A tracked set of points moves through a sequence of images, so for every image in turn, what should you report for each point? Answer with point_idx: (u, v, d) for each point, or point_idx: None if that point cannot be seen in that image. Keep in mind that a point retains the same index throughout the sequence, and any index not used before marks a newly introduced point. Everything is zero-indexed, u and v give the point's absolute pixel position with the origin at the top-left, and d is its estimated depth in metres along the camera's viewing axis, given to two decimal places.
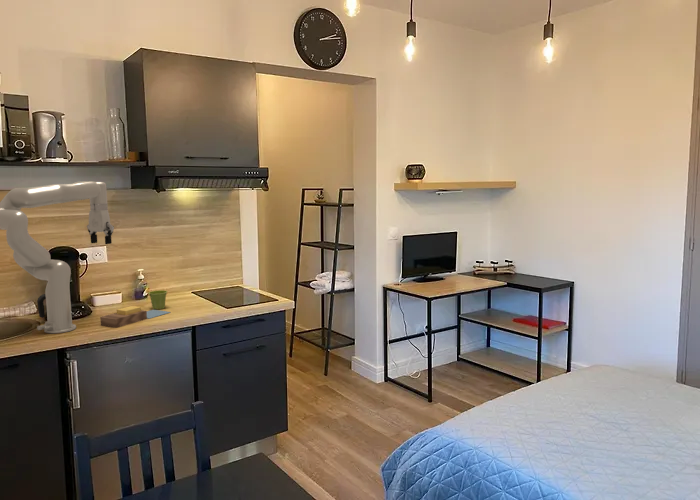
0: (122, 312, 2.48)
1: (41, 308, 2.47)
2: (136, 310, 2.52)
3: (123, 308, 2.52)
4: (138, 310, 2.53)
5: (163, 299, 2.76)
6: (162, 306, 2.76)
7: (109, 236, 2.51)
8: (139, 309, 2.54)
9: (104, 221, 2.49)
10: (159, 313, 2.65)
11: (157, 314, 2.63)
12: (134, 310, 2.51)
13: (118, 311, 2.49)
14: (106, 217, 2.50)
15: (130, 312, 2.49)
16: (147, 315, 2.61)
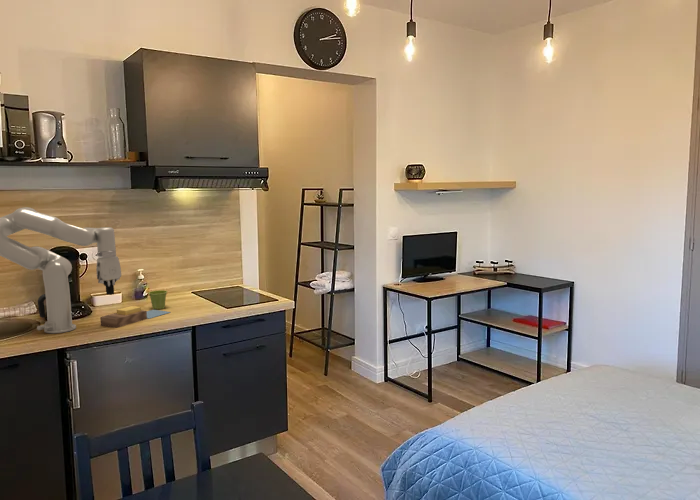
0: (122, 312, 2.48)
1: (41, 308, 2.47)
2: (136, 310, 2.52)
3: (123, 308, 2.52)
4: (138, 310, 2.53)
5: (163, 299, 2.76)
6: (162, 306, 2.76)
7: None
8: (139, 309, 2.54)
9: None
10: (159, 313, 2.65)
11: (157, 314, 2.63)
12: (134, 310, 2.51)
13: (118, 311, 2.49)
14: None
15: (130, 312, 2.49)
16: (147, 315, 2.61)
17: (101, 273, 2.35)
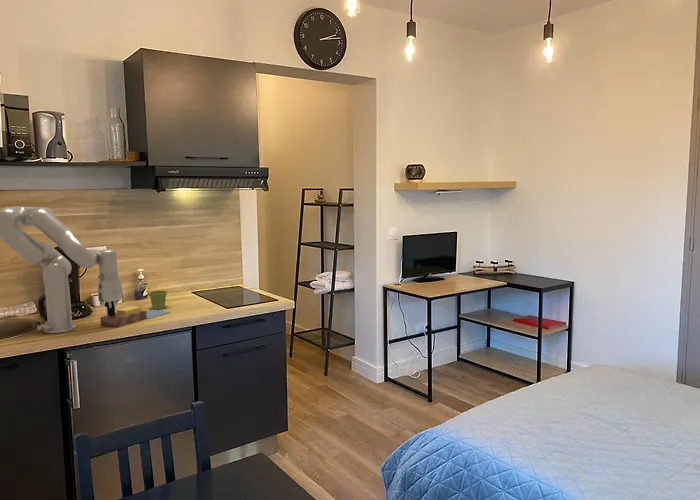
0: (122, 312, 2.48)
1: (42, 308, 2.47)
2: (136, 310, 2.52)
3: (123, 308, 2.52)
4: (138, 310, 2.53)
5: (163, 299, 2.76)
6: (162, 306, 2.76)
7: None
8: (139, 309, 2.54)
9: None
10: (159, 313, 2.65)
11: (157, 314, 2.63)
12: (134, 310, 2.51)
13: (118, 311, 2.49)
14: None
15: (130, 312, 2.49)
16: (147, 315, 2.61)
17: (103, 295, 2.37)
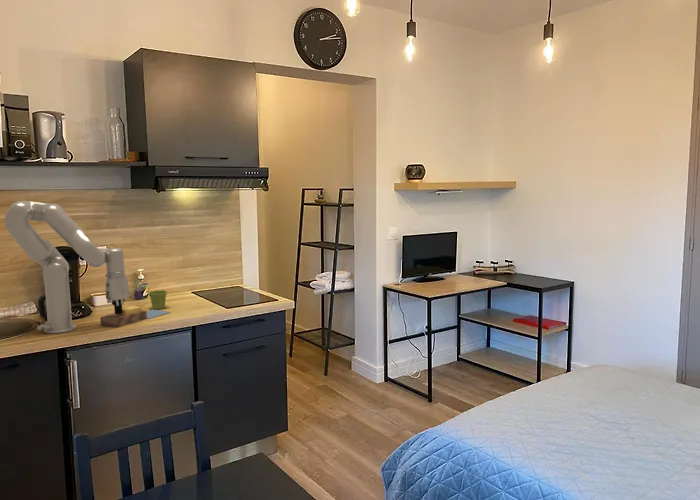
0: (122, 312, 2.48)
1: (42, 308, 2.47)
2: (136, 310, 2.52)
3: (123, 308, 2.52)
4: (138, 310, 2.53)
5: (163, 299, 2.76)
6: (162, 306, 2.76)
7: None
8: (139, 309, 2.54)
9: None
10: (159, 313, 2.65)
11: (157, 314, 2.63)
12: (134, 310, 2.51)
13: None
14: None
15: (130, 312, 2.49)
16: (147, 315, 2.61)
17: (110, 293, 2.40)
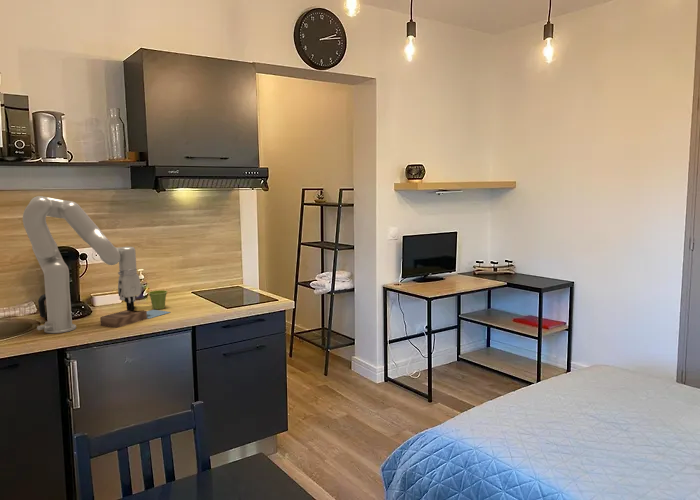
0: (134, 308, 2.54)
1: (42, 308, 2.47)
2: (147, 308, 2.58)
3: (135, 305, 2.58)
4: (149, 308, 2.60)
5: (163, 299, 2.76)
6: (162, 306, 2.76)
7: None
8: (150, 307, 2.60)
9: None
10: (159, 313, 2.65)
11: (157, 314, 2.63)
12: (145, 307, 2.57)
13: None
14: None
15: (141, 309, 2.55)
16: (147, 315, 2.61)
17: (122, 290, 2.46)
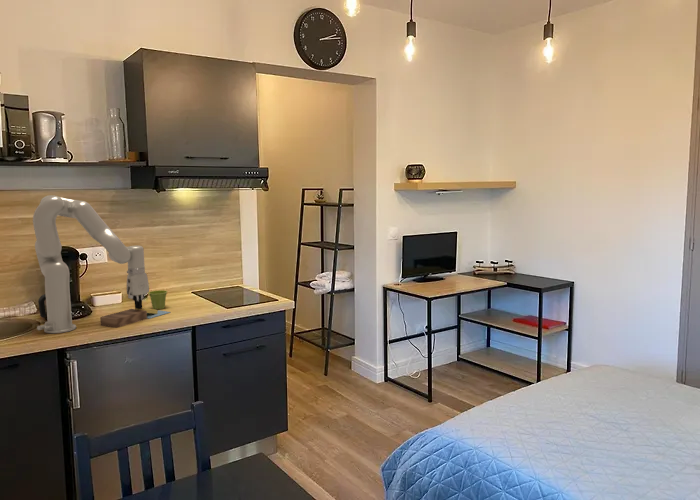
0: (140, 309, 2.57)
1: (42, 308, 2.47)
2: (153, 311, 2.62)
3: None
4: (155, 312, 2.63)
5: (163, 299, 2.76)
6: (162, 306, 2.76)
7: None
8: (156, 311, 2.64)
9: None
10: (159, 313, 2.65)
11: (157, 314, 2.63)
12: (151, 311, 2.61)
13: None
14: None
15: (147, 311, 2.59)
16: (147, 315, 2.61)
17: (131, 289, 2.51)
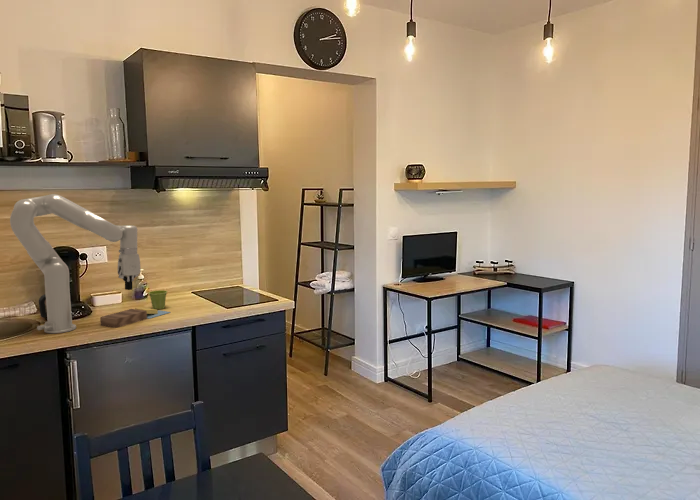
0: None
1: (42, 308, 2.47)
2: (153, 312, 2.62)
3: (141, 308, 2.62)
4: (155, 312, 2.63)
5: (163, 299, 2.76)
6: (162, 306, 2.76)
7: None
8: (156, 311, 2.64)
9: None
10: (159, 313, 2.65)
11: (157, 314, 2.63)
12: (151, 311, 2.61)
13: None
14: None
15: (147, 312, 2.59)
16: (147, 315, 2.61)
17: (122, 268, 2.46)
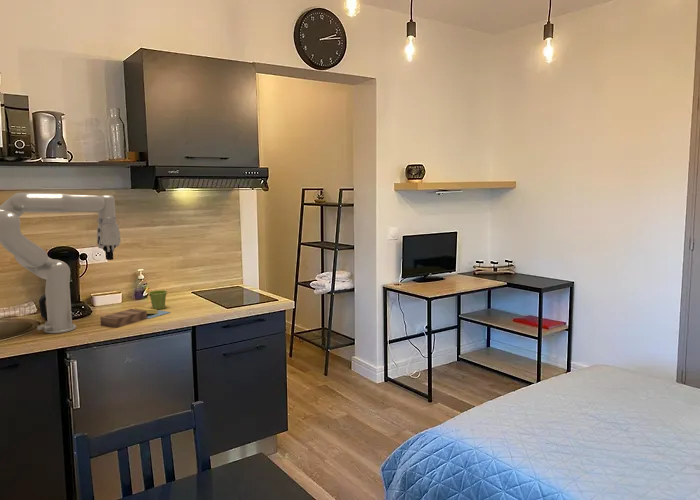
0: None
1: (43, 308, 2.47)
2: (153, 312, 2.62)
3: (141, 308, 2.62)
4: (155, 312, 2.63)
5: (163, 299, 2.76)
6: (162, 306, 2.76)
7: None
8: (156, 311, 2.64)
9: None
10: (159, 313, 2.65)
11: (157, 314, 2.63)
12: (151, 311, 2.61)
13: None
14: None
15: (147, 312, 2.59)
16: (147, 315, 2.61)
17: (101, 238, 2.46)
